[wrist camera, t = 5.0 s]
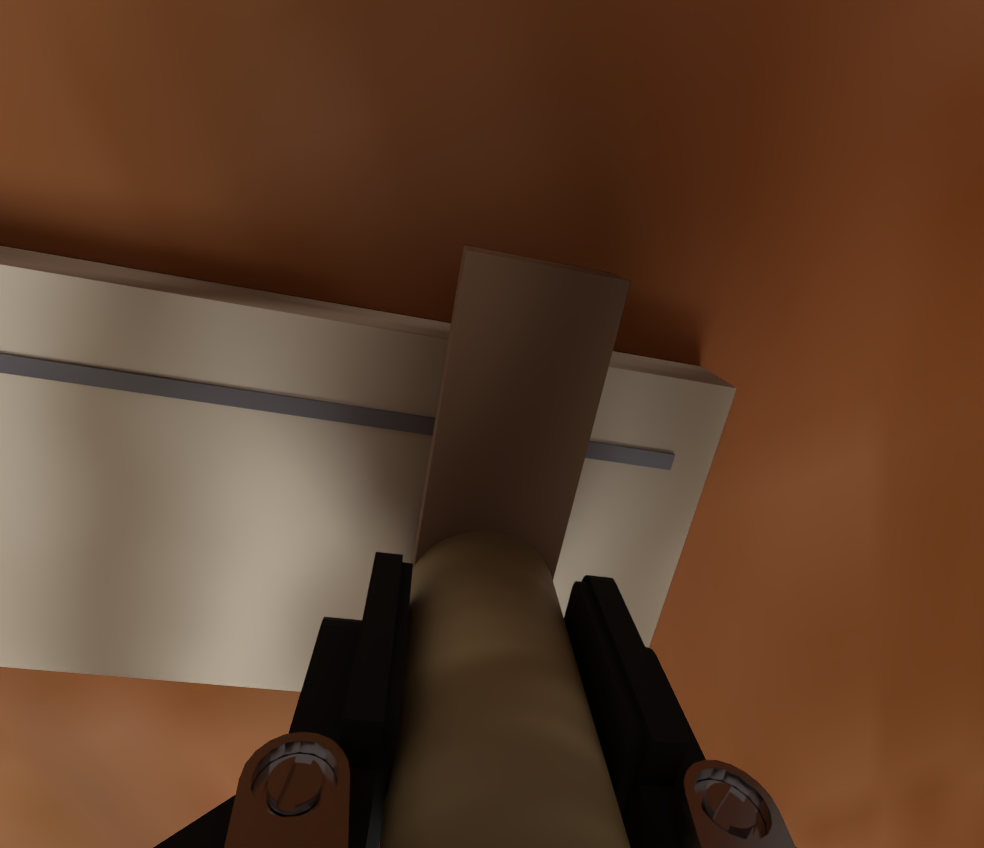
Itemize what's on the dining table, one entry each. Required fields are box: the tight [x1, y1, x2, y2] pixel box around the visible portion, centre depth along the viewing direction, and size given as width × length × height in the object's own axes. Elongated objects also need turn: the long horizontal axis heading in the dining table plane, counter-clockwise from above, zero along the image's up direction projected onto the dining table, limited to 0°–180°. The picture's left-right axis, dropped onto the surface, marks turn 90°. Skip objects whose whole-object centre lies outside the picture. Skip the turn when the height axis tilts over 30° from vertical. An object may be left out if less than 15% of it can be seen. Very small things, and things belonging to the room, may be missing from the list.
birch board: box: [0, 246, 737, 692], centre depth 14 cm, size 26×10×2 cm, turn 79°
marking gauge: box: [379, 245, 631, 848], centre depth 11 cm, size 5×14×10 cm, turn 169°
